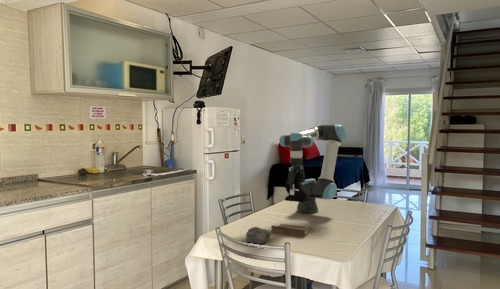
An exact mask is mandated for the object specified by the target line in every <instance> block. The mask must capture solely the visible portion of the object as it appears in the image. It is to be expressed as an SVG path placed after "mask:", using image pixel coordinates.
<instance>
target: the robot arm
mask: <svg viewBox="0 0 500 289" xmlns="http://www.w3.org/2000/svg"><path fill="white" fill-rule="evenodd" d="M346 137H347V133H346V129H345V127H344V126H343V125H341V124H321V125H316V126H312V127H310V128H309V129H308V130H304V131H300V132H291V133H290V134H287V135H286V134H284V135H281V136H280V137H279V139H278V140H279V145H280V146H281V147H284V148H285V147H289V150H290V151H289V153H290V155H289V156H290V158H289V159H290V160H289V161H290V162H289V163H290V165H291V167H288V168H287V169H288V174H287V179H288V181H287V180H286V181H287V183H288V184H290V195H294V189H295V185H294V184H295V180H296V174H298V173H300V172H302V173H303V174H304V177H305V166H304V165H302V164H303V148H309V147H312V146H313V145H314V142H315V141H324V143H325V144H326V145H325V150H324V157H323V162H322V167H321V173H320V176H319V177H318V178H317V181H316V179H315V178H308V179H306V177H305V178H304V179H303V178H302V179H300V180H299V181H300V182H301V183H302V184H303V187H304V190H305V191H306V192H307V194H308V197H307V198H306V199H307V201H305V202H298V203H297V207H296V211H297V213H300V214H316V213H318V212H319V207H318V204H317V202H316V199H321V200H328V201H329V200H333V199H334V197H336V195H337V191H338V190H337V189H338V188H337V184H336V183H335V180H334V174H335V168H336V163H337V158H338V151H339V147H340V146H341V145H342V143H343V142H344V141H345V140H346Z"/></svg>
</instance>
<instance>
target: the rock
mask: <svg viewBox="0 0 500 289" xmlns="http://www.w3.org/2000/svg"><path fill="white" fill-rule="evenodd" d="M245 236H246V237H245V238H246V239H245V241H246V243H248V242H250V243H249V244H255V243H257V244H258V245H262V244H263V243H266V242H267V240H269V239H270V238H271V232H270V231H269V230H268V229H265V228H260V226H259V227H258V226H255V227H250V228H249V229H248V230H247V231H246V233H245ZM257 244H256V245H257Z"/></svg>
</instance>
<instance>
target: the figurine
mask: <svg viewBox="0 0 500 289" xmlns="http://www.w3.org/2000/svg"><path fill="white" fill-rule="evenodd" d="M304 175H305V173H304V174H303V173H302V172H300V173H298V174H296V176H295V180H296V182H295V181H294V183H293V184H294V186H296V187H297V189H298V190H297V189H295V188H294V195H290V184H288V183H287V181H288V178H287V179H286V181H285V183H284V185H285V186H284V188H285V191H286V192H287V194H288V195H286V196H285V198H284V200H285V201H286V202H295V203H296V202H298V203H299V202H305V201H307V199H306V198H307V197H308V194H307V192H306V191H305V190H304V187H303V184H302V183H301V182H300V181H299V180H300V179H302V178H303V179H304V178H305V179H306V177H304Z"/></svg>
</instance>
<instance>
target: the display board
mask: <svg viewBox="0 0 500 289" xmlns="http://www.w3.org/2000/svg"><path fill="white" fill-rule="evenodd" d="M270 230H271V231H270V234H279V235H285V236H292V237H299V236H300V237H301V238H305V237H306V236H308V235H309V234H310V233H311V232H312V231H313V227H309V226H300V225H293V224H286V223H284V224H283V223H280V224H279V225H271V229H270ZM308 233H309V234H308ZM300 237H299V238H300Z"/></svg>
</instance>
